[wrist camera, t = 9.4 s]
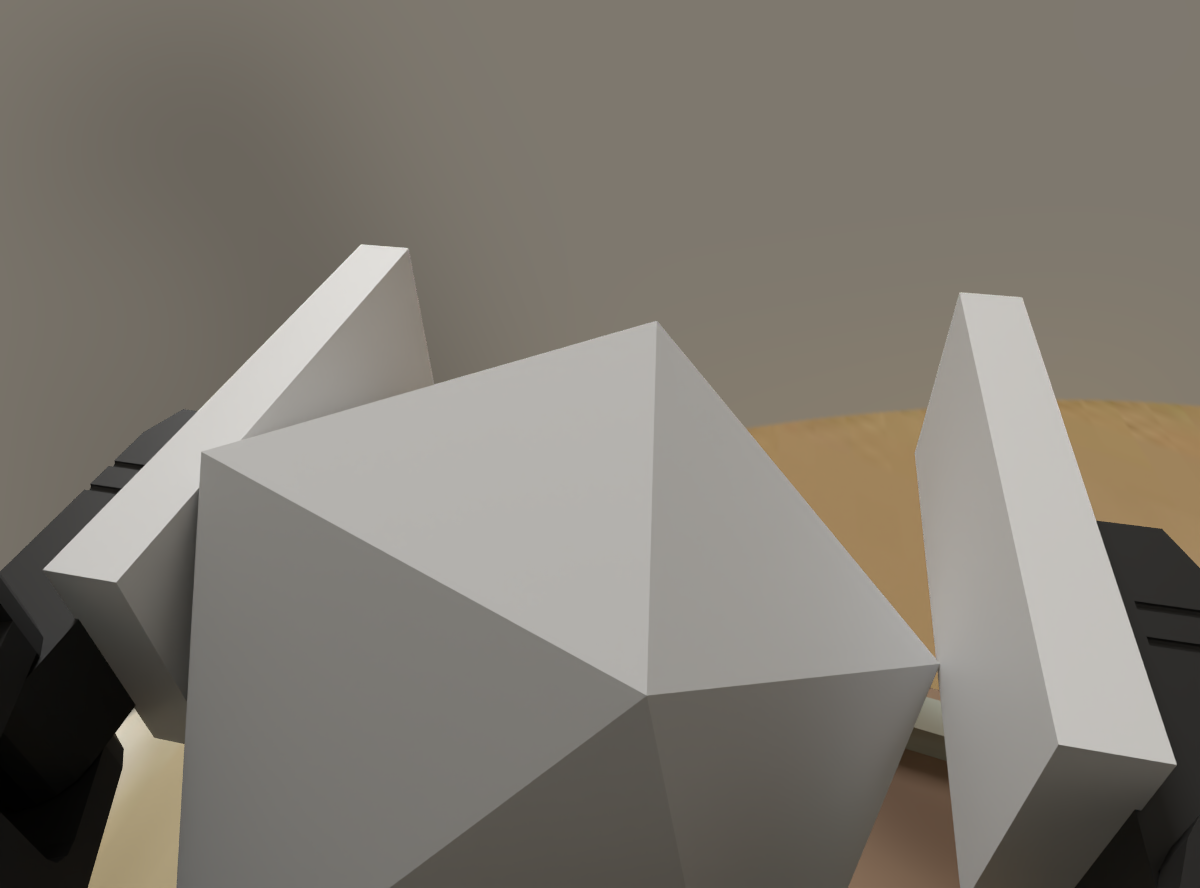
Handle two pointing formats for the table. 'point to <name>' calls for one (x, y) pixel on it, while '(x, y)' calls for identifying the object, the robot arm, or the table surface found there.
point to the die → (533, 645)
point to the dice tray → (914, 816)
